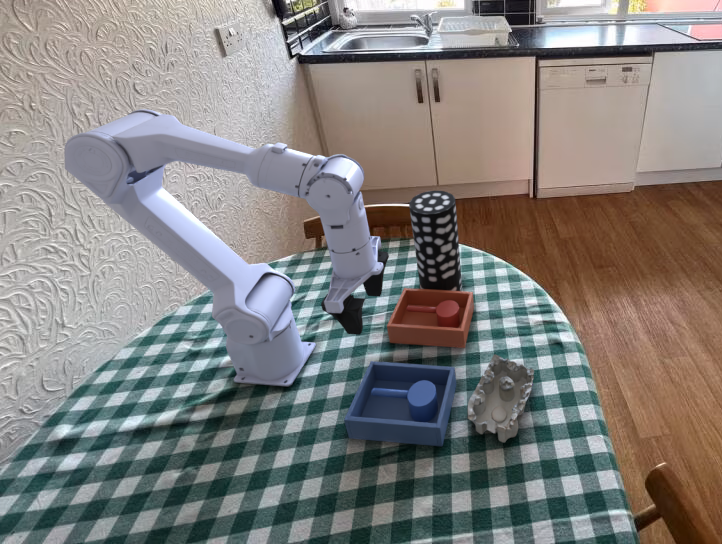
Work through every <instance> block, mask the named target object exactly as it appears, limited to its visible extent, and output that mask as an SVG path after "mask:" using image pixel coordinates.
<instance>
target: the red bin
mask: <svg viewBox="0 0 722 544" xmlns="http://www.w3.org/2000/svg"><path fill="white" fill-rule="evenodd" d="M447 300H451V301H455V302H456V303H457V304H458V306H459V316H460V325H459V327H458V328H449V327H438V323H437V314H436V313H423V312H408V311H407V310H406V308H407V307H408V306H422V307H437V306H438V305H439V304H440V303H441V302H443V301H447ZM474 301H475V300H474V292H473V291H465V290H460V291H448V290H431V289H420V288H410V287H404V288H403V290H402V292H401V294H400V296H399V298H398V301H397V303H396V305H395V307H394V309H393V312H392V313H391V316H390V318H389V320H388V323H387V324H386V330H387V335H388V341H389V343H390V344H399V345H416V346H429V347H444V348H458V349H459V348H460V349H465V348H466V344H467V340H468V336H469V332H470V328H471V324H472V323H471V322H472V318H473V314H474V309H475V304H474Z"/></svg>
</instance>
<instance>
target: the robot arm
mask: <svg viewBox="0 0 722 544" xmlns="http://www.w3.org/2000/svg"><path fill="white" fill-rule="evenodd" d="M174 162H181V163H185V164H190V165H195V166H200V167H206V168H211V169H216V170H221V171H226V172H232V173H236V174H243V175H245V176H246V178H247V179H248V180H249V182H250V183H251V185H252V186H254V187H257V188H260V189H264V190H268V191H272V192H276V193H279V194H284V195H287V196H291V197H295V198H299V199H302V200H305V201H306V202H307V204H308V205H309V207H311V208H312V209H313V210H314V211H315V212H317V214H318V215H319V219H320V222H321V225H322V229H323V233H324V236H325V237H324V238H325V241H326V245H327V250H328V255H329V257H330V261H331V266H332V271H331V277H330V282H329V287H328V293H326V295H325V296H324V297H323V299H322V301H321V303H320V306H321V310H322V311H323V312H325V313H327V314H328V315H330V316H332V318H334V319H335V320H336V321H337V322H338V323H339V324H340V325H341V327H342V328H343V329H344V331H345V332H346V334H347V335H357V336H361V334H362V332H363V330H364V322H363V308H364V304H365V301H366V298H364V297H354V295H353V294H352V293H354V291H356V290H357V289H358V288H360V286H361V285H363V288H364V291H365V293H366V294H367V296H368V297H378V298H379V297H381V296H382V293H383V283H384V275H385V269H386V265H387V263H388V260H389V258H390V254H389V252H387V251H382V250H381V248H382V242H381V241H382V239H381V237H380V236H375V235H374V236H373V235H371V232H370V227H369V223H368V218H367V217H368V216H367V212H366V208H365V204H364V199H363V194H362V191H360V190H361V188H362V186H363V184H364V181H365V171H364V168H363V167H362V165H361V164H360V163H359V162H358V161H357V160H356V159H354V158H353V157H349V156H348V155H346V154H343V153H339V154H333V155H331V156H324V155H321V154H317V155H314V154H313V155H312V154H310V153H307V152H303V151H298V150H295V149H291V148H288V144H285V143H283V142H279V141H278V142H276V143H274V144H273V143H267V144H264V145H262V146H260V147H257V148H255V147H251V146H248V145H245V144H243V143H239V142H237V141H233V140H230V139H227V138H225V137H221V136H218V135H215V134H212V133H209V132H206V131H203V130H200V129H197V128H195V127H192V126H188V125H185V124H183V123H181V122H180V121H179V120H178V118H177V117H176V115H175V116H174V115H172V114H166V113H160V112H158V111H156V110H152V109H149V108H148V109H146V108H141V109H136V110H133V111H131V112H130V113H127V115H124V116H122V117H119V118H117V119H115V120H113V121H110V122H107V123H105V124H103V125H100V126H98V127H95V128H93V129H91V130H88V131H85V132H79V133H77V134H74V135H71V137H69V138H68V139H67V141H66V142H65V144H64V169H65V171H67V172H68V173H69V174H71V176H73V177H74V179H76V180H78V181H79V182H80V183H81V184H82V185H84V186H85V187H86V188H87V189H89V190H90V191H91V192H92V193H93V194H94V195H96V196H97V197H98V198H99V199H101V200H102V202H104V203H105V205H106V206H107V207H109V208H110V210H112V211H114V212H115V213H116V214H117V215H118V216H119V217H121V218H122V219H123V220H124V221H125V222H127V223H128V224H129V225H130V226H132V227H133V228H134V229H135V230H136V231H138V232H139V233H140V235H143V236H144V237H145V238H146V239H148V241H150V242H151V243H152V244H153V245H155V246H156V247H157V248H158V249H159V250H161V251H162V252H163V253H164V254H165V255H167V256H168V257H169V259H171V260H172V261H174V262H175V263H176V264H178V265H179V266H180V267H181V268H182V269H184V270H185V271H186V272H187V273H188V274H190V275H191V276H192V277H194V278H195V279H196V280H197V281H198V282H200V283H201V284H202V285H203V286H204V287H205V288H207V290H209V291H210V292H211V293H212V294H213V295H212V297H213V298H212V310H211V318H212V319H214V320H215V321H216V322H217V323H218V324H219V325H220V327H222V330H223V332H224V334H225V335H226V340H225V350H226V352H227V355H228V357H229V359H230V361H231V364H232V365H233V368H234V370H235V373H236V375H235V376H234V377H233V382H234V383H239V384H251V385H262V386H263V385H265V386H277V387H291V386H292V385H293V383H294V382H295V380H296V378H297V377H298V375H299V374H300V372H301V370H302V369H303V368H304V366H305V364H306V362H307V361H308V359H309V357H310V356H311V354H312V353H313V351H314V350H315V348H316V346H317V345H316V343H315V342H311V341H302V338H301V336H300V333H299V329H298V326H297V323H296V320H295V316H294V314H293V310H292V302H291V298H292V297H294V295H295V292H296V286H295V283H294V281H293V280H292V279H291V278H290V277H289V276H287V275H286V274H284V273H282V272H280V271H277V270H275V269H274V268H272V267H271V266H270V265H269V264H267V263H266V262H262V263H250V264H249V263H248V262H247V261H245V260H244V259H243V258H242V257H241V256H240V255H238V254H237V253H236V252H235V251H234V250H233V249H232V248H231V247H229V245H227V244H226V243H225V241H223V240H222V239H221V238H220V237H218V236H217V235H216V234H215V233H214V232H213V231H212V230H210V229H209V228H208V227H207V226H206V225H205V224H204V223H203V222H202V221H201V220H199V218H197V217H196V216H195V215H194V214H193V213H191V211H190V210H188V209H187V208H186V206H184V205H183V204H181V202H180V201H178V200H177V199H176V198H175V197H174V196H173V195H172V194H171V193H169V192H168V191H167V190H166V189H165V188H164V187H163V179H164V171H165V168H166V166H167V165H168V164H171V163H174Z"/></svg>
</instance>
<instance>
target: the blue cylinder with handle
mask: <svg viewBox="0 0 722 544" xmlns="http://www.w3.org/2000/svg"><path fill="white" fill-rule="evenodd" d="M371 394H372V395H373V396H381V397H394V398H406V399H408V404H409V409H410V415H411V417H412V419H413V420H414V421H416V422H427V421H429V420H431V419H432V418H433V417H434V416H435V415H436V413H437V410H438V402H437V395H436V388H435V386H434V384H433V383H432V382H430V381H426V380H423V381H419V382H416V383H415V384H413V385H412V386H411V388H410V389H409V391H407V390H394V389H382V388H373V389H372V391H371Z"/></svg>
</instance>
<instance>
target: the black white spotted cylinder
mask: <svg viewBox="0 0 722 544" xmlns="http://www.w3.org/2000/svg"><path fill="white" fill-rule="evenodd" d="M456 203H457V202H456V197H455V196H454V195H453V193H450V192H448V191H445V190H428V191H424V192H421V193H419V194H416V195H414V197H412V198H411V199H410V201H409V202H408V206H409V214H410V215H409V216H410V221H411V230H412V237H413V243H414V244H413V246H414V251H415V259H416V260H415V261H416V268H417V274H418V280H419V289H431V290H448V291H462V287H463V281H462V268H461V267H462V266H461V255H460V254H461V253H460V243H459V241H460V240H459V231H458V230H459V228H458V218H457V217H458V216H457V215H458V214H457V205H456Z"/></svg>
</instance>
